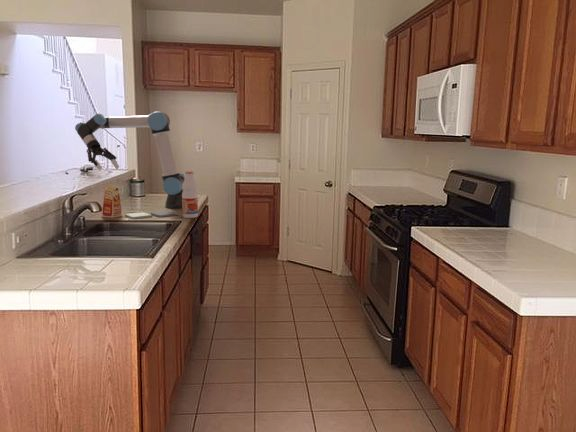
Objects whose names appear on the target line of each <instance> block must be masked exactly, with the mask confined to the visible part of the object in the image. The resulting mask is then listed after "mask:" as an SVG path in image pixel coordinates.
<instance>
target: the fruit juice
mask: <svg viewBox="0 0 576 432" xmlns="http://www.w3.org/2000/svg"><path fill="white" fill-rule="evenodd" d="M184 172H185V174H184V175H185V176H184V177H185V179H184V182H183V184H182V189H183V192H182V208H181V210H182V211H181V212H182V213H181V216H182V218H186V219H194V218H198V215H199V211H198V209H199V207H198V204H199V203H198V202H199V200H198V198H199V197H198V192H197V189H198V183H197V182H196V180H195V177H194V171H191V170H190V171H189V170H188V171H184Z"/></svg>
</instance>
